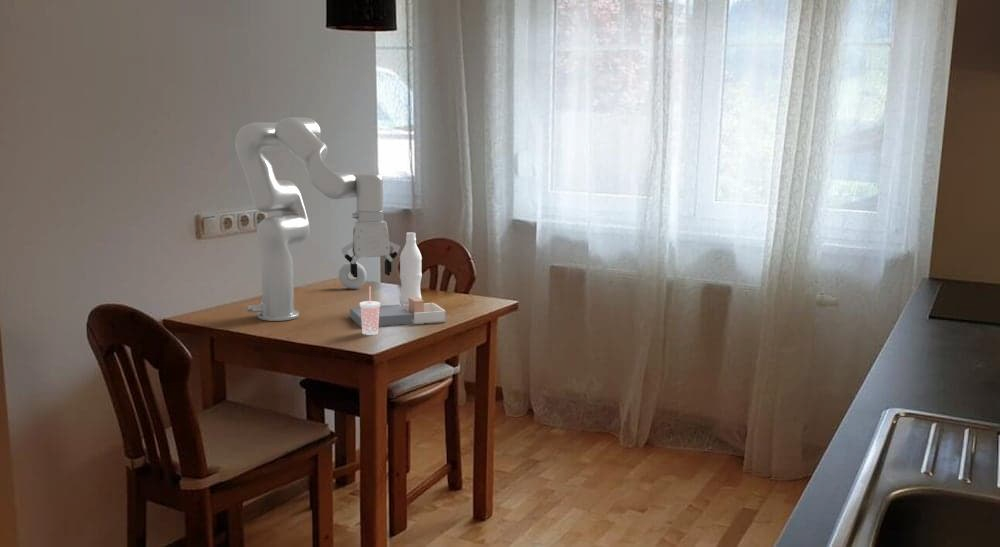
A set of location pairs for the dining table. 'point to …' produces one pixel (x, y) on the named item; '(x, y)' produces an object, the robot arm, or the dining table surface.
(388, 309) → the slate board
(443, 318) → the tray
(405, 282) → the water bottle
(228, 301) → the dining table surface
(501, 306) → the dining table surface
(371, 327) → the beverage cup
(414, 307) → the terracotta tile
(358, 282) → the donut
